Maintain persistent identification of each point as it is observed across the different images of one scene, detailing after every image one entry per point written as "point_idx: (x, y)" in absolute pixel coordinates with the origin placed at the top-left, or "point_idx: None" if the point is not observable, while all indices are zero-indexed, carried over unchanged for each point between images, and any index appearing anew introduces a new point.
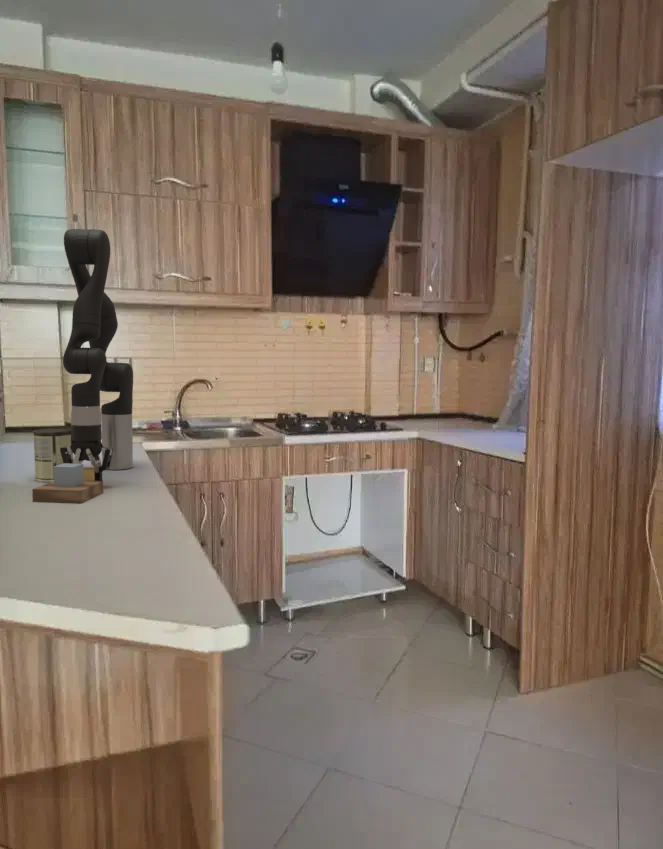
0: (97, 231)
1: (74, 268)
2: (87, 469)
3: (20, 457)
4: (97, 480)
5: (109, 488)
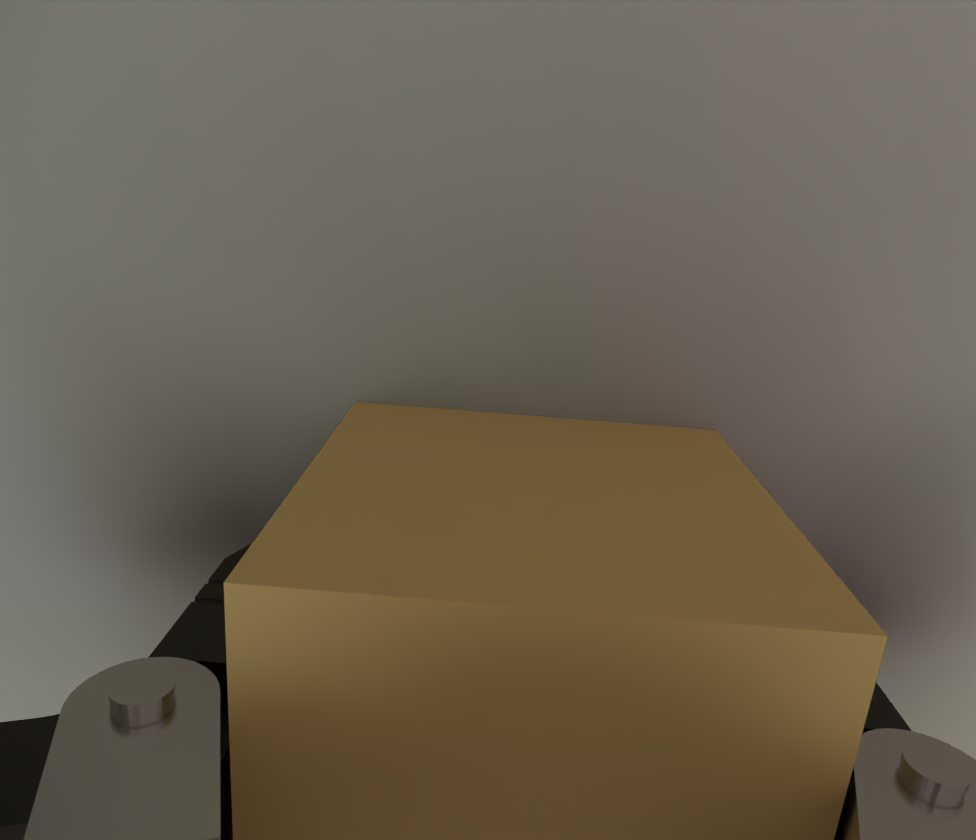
0: None
1: None
2: None
3: None
4: None
5: (934, 662)
